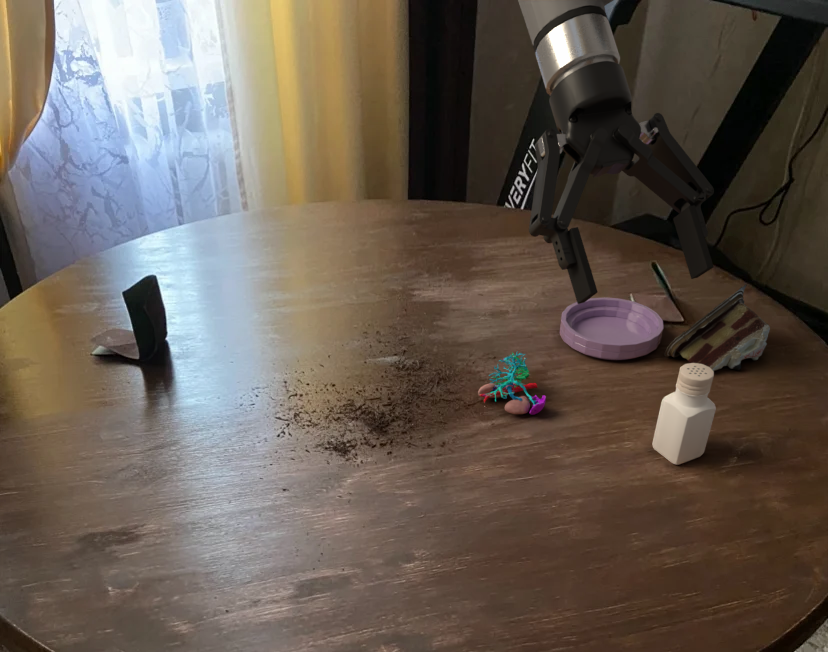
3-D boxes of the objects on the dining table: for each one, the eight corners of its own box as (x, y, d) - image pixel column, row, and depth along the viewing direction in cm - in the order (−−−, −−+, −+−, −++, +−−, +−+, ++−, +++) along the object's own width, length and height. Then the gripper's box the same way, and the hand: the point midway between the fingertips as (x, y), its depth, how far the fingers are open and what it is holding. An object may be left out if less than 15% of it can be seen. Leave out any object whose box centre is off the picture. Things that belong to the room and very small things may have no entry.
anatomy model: (497, 394, 86) (554, 372, 87) (461, 359, 91) (515, 339, 93) (500, 435, 89) (555, 412, 91) (465, 399, 95) (517, 378, 96)
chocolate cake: (703, 390, 95) (787, 310, 92) (660, 350, 98) (741, 271, 95) (715, 409, 104) (794, 337, 100) (676, 372, 106) (751, 301, 103)
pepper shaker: (675, 468, 84) (695, 386, 77) (648, 448, 86) (666, 366, 80) (705, 457, 85) (727, 375, 79) (678, 437, 88) (698, 356, 81)
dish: (657, 319, 107) (661, 301, 106) (661, 368, 98) (665, 348, 97) (561, 312, 109) (563, 294, 107) (556, 359, 100) (558, 340, 98)
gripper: (666, 90, 90) (724, 277, 90) (458, 118, 83) (520, 322, 83) (709, 44, 83) (772, 248, 83) (485, 70, 76) (553, 294, 75)
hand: (646, 285), depth 83 cm, fingers open, 13 cm apart
